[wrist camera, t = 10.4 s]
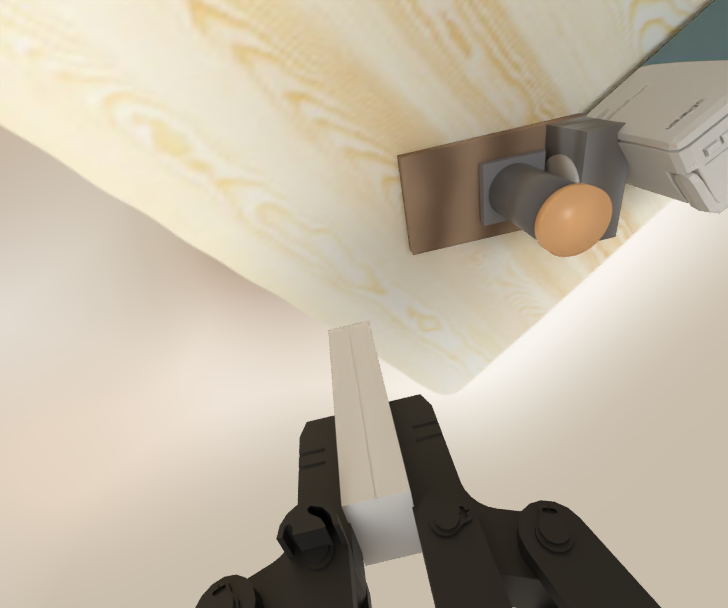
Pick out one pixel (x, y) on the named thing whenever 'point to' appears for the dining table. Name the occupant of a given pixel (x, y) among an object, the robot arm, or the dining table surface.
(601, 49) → the dining table surface
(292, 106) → the dining table surface
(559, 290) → the dining table surface
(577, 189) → the knob
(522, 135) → the knob mount
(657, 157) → the stereo radio cassette player
